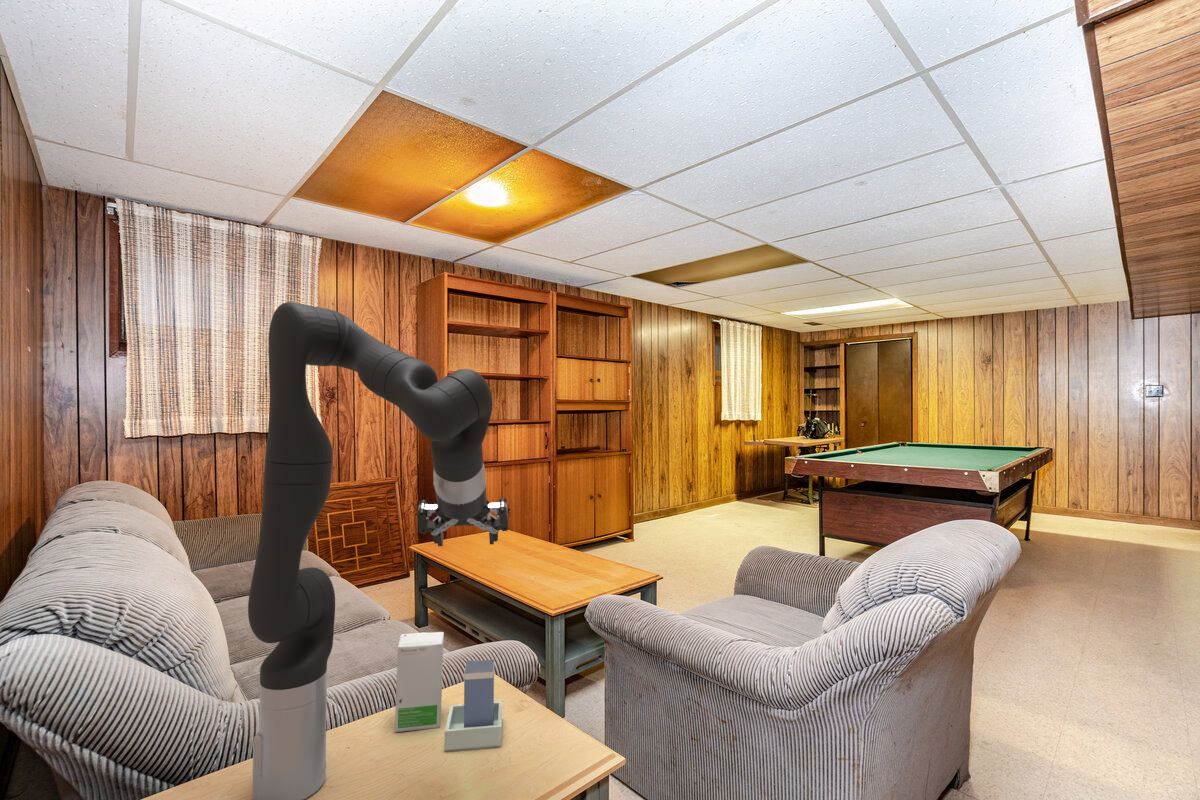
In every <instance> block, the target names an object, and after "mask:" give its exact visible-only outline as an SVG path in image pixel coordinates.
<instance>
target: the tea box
mask: <svg viewBox="0 0 1200 800" xmlns="http://www.w3.org/2000/svg"><path fill="white" fill-rule="evenodd" d="M463 682H464V683H463V687H464V689H463V704H464V728H469V727H480V726H492V725H494V702H495V659H482V660H481V659H480V660H467V661H466V664H465V668H464V673H463Z"/></svg>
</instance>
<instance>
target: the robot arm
mask: <svg viewBox="0 0 1200 800" xmlns="http://www.w3.org/2000/svg"><path fill="white" fill-rule="evenodd" d="M307 366H316V367H339V368H344V369H347V370H351V371H354V372H356V373H357V376H358V378H359V380H360V382H361V383H362V384H363V386H364V387H365V388H367V389H368V390H369V391H370V392H371V393H373V394H375V395H376V396H378V397H380V398H381V399H384V400H386V401H387V402H389V403H391V404H393V405H395V406H397V408H399V409H400V410H401V412H402V413H403V414H405V416H407V418H408V419H409V420H410V421H411V422H412V424H413V425H414V427H416V429H417V430H418V431H419V432H420V433H421V434H422V436H423V437H424V438H426V439H428V440H431V443H430V452H431V458H432V465H433V488H434V490H435V497H436V503H434V504H432V503H431V504H430V503H429V504H428V501H427V500H425V499H420V500H419V502H418V508H417V523H418V533H420V534H421V535H424V534H425V535H426V534H427V533H430V535H432V541H433V543H434V544H435V545H436V544H437V547H443V545H444V532H446V531H447V530H448V529H450V528H451V527H452V526H454V527H460V526H461V527H462V526H469V527H470V526H471V527H472V526H475V527H477V528H479V529H480V530H482V531H485V530H486V531H487V532H489V533H488V535H489V536H488V537H489V545H495V542H498V540H499V531H502V532H508V531H509V524H510V522H509V509H508V500H507V498H506V497H505V498H504V497H500V498H499V500H498V502H490V501H489V500H488V499H487V497H488V496H487V493H488V492H487V478H486V475H487V474H486V468H485V464H484V456H483V443H484V440H485V438H486V435H487V431H488V429H489V425H490V420H491V416H492V413H493V412H492V411H493V397H492V391H491V388H490V386H489V384H488V381H487V380H486V379H485V378H484V377H483V376H482V375H481V374H480V373H478V372H477V371H475V370H473V369H469V368H462V369H461V368H460V369H457V370H454V371H453V372H451V373H449V374H447V375H446V376H444V377H442V378H441V379H440V380H439V378H438V376H437V372H436V371H435V369H434V368H433V367H432V366H431V365H429V364H428V363H427V362H425V361H422V360H420V359H418V358H417V357H414V356H413V355H410V354H408V353H405V352H403V351H401V350H399V349H398V348H394V347H393V346H390V345H388V344H386V343H383V342H382V341H380V339H379V340H378V339H377V338H376V337H374V336H373V335H371V334H369V333H368V332H367V331H366V330H364V329H363V328H362V327H361V326H359V325H358V324H357V323H355V321H353V320H352V319H351V318H349V317H347V316H346V315H345V314H343V313H341V312H339V311H337V310H334V309H331V308H330V309H329V308H324V307H319V306H314V305H309V304H304V303H299V302H293V301H291V302H289V301H287V302H284V303H281V304H279V306H278V307H277V308H276V309H275V311H274V312H273V314H272V317H271V319H270V325H269V331H268V371H269V372H268V377H269V381H268V382H269V411H268V429H267V440H266V441H267V442H266V449H265V450H266V451H265V457H264V458H265V459H264V470H263V491H262V492H263V493H262V509H261V518H260V528H259V535H258V536H259V539H258V544H257V545H258V546H257V551H256V556H255V557H256V558H255V563H254V566H253V567H254V568H253V573H252V578H251V583H250V589H249V594H248V602H247V617H248V622H249V625H250V629H251V631H252V633H253V635H254V636H255V638H256V639H258V640H260V642H262V643H266V644H276V643H277V645H276V646H275V648H274V649H273V650H272V651H271V652H270V653H269V654H268V656H266V658H264V660H263V662H262V663H261V666H260V670H259V720H258V721H259V722H258V723H259V724H258V728H259V729H258V732H257V733H256V734H255V735H254V737H253V741H252V786H251V787H252V789H251V790H252V791H251V794H252V797H251V800H306V799H307V798H309V797H311V796H312V795H314V794H315V793H316V792H318V791H319V789H320V788H321V787H322V786H323V784H324V783H325V781H326V776H327V775H326V773H327V772H326V770H327V769H326V768H327V761H326V760H327V707H328V705H327V703H328V702H327V700H328V699H327V697H328V692H327V691H328V688H327V687H328V686H327V684H328V660H329V657H330V655H331V653H332V650H333V645H334V644H333V643H334V636H335V635H334V631H335V620H336V619H335V617H336V593H335V589H334V584H333V582H332V580H331V578H330V576H329V575H328V573H326V572H325V571H323V570H322V569H320V568H318V567H304V568H301V569H300V566H301V559H302V553H303V549H304V546H305V543H306V541H307V539H308V536H309V534H310V532H311V530H312V528H313V527H314V525H315V523H316V522H317V519H318V518H319V516H320V515H321V512H322V510H323V508H324V506H325V504H326V502H327V500H328V497H329V494H330V489H331V484H332V483H331V482H332V472H333V471H332V469H333V459H334V458H333V457H334V456H333V454H334V453H333V451H334V450H333V446H332V443H331V440H330V438H329V436H328V434H327V431H326V430H325V428H324V427H323V425H322V422H321V421H320V419H319V418H318V416H317V413H315V411H314V409H313V406H312V404H311V402H310V399H309V396H308V390H307V378H306V376H307V373H306V372H307ZM491 512H493V513H494V514H495V515H496V516H495V515H494V514H492V513H491ZM433 513H434V514H436V515H437V516H436V517H434V518H433V519H432V520H431V519H430V517H431V516H432V515H433Z"/></svg>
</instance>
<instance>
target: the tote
mask: <svg viewBox="0 0 1200 800" xmlns="http://www.w3.org/2000/svg"><path fill="white" fill-rule="evenodd" d="M502 733H503V700H500V701H498V700H497V701H494V725H492V726H480V727H469V728H464V703H459V704H458V703H457V704H450V706H449V710H448V716H447V720H446V725H445V729H444V753H448V752H458V751H459V752H460V751H470V750H471V751H472V750H481V749H491V748H492V749H493V748H501V747H502Z"/></svg>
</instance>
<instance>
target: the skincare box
mask: <svg viewBox="0 0 1200 800" xmlns="http://www.w3.org/2000/svg"><path fill="white" fill-rule="evenodd" d="M444 635H445V632H444V631H436V632H434V631H433V632H425V631H424V632H417V633H412V632H411V633H402V634H401V635H400V637H399V641H398V646H397V664H396V688H395V689H396V690H395V691H396V692H395V714H394V715H395V716H394V719H395V720H394V732H395V733H398V732H399V733H400V732H410V731H417V730H419V731H420V730H427V729H436V728H440V726H441V716H442V700H443V699H442V697H443V667H444V666H443V665H444V664H443V663H444V642H445V641H444V639H445V638H444V637H445V636H444Z"/></svg>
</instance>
